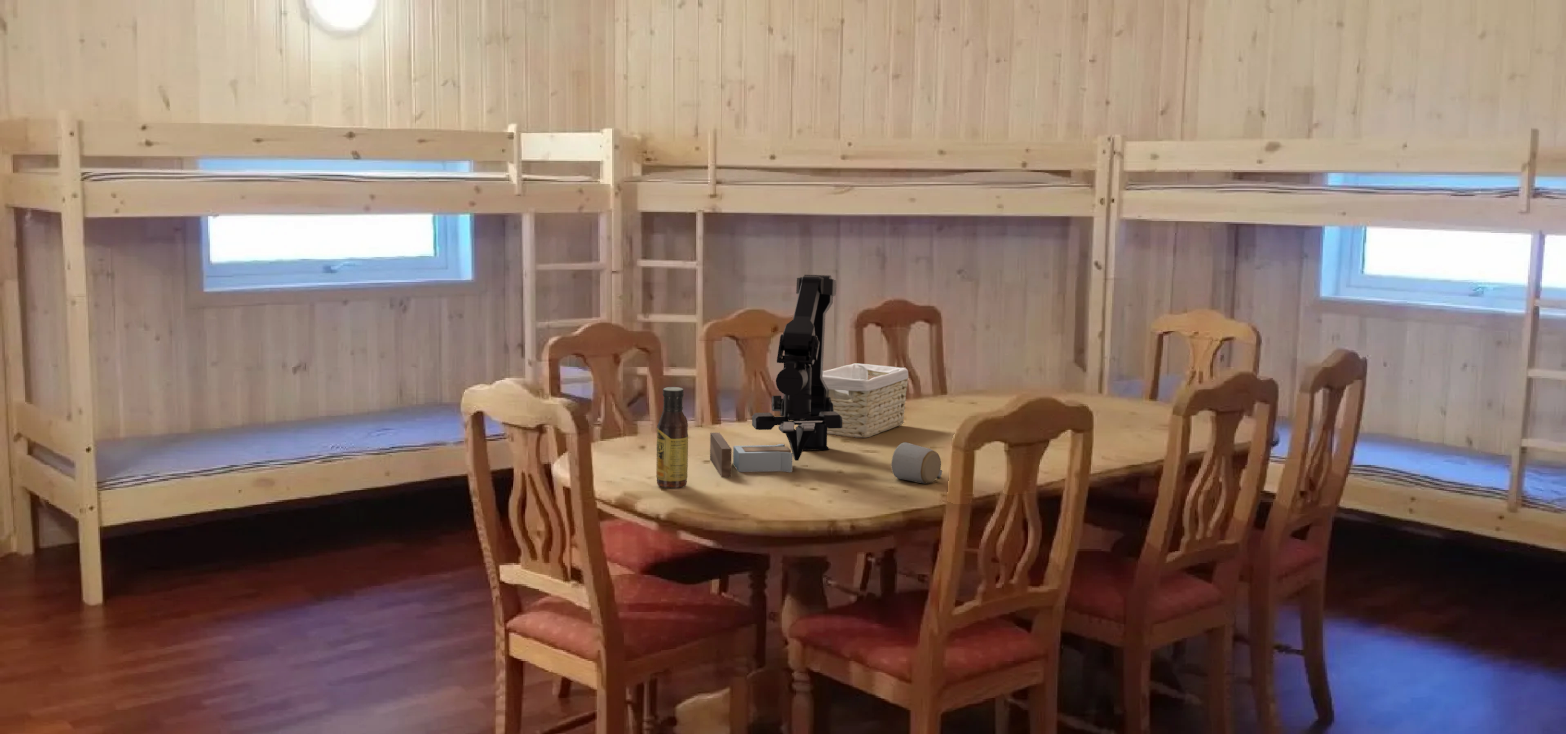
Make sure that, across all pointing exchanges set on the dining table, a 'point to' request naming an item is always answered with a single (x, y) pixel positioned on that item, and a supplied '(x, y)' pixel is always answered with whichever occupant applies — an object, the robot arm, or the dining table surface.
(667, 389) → the sauce bottle
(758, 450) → the rectangular wooden block
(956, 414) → the dining table surface
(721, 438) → the backstop
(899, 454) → the ceramic mug
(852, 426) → the storage basket
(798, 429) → the robot arm
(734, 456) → the cradle
